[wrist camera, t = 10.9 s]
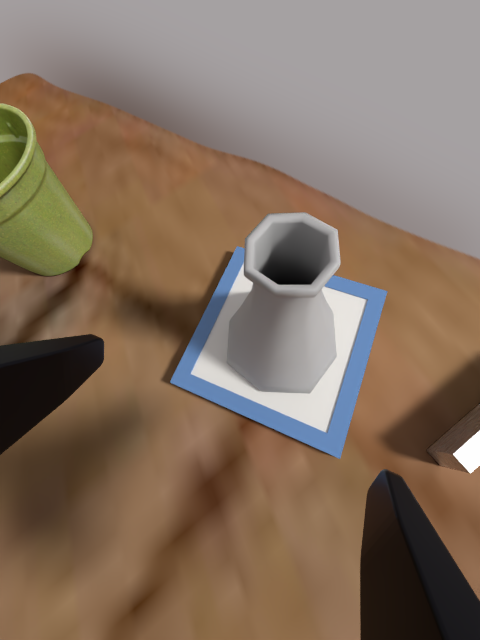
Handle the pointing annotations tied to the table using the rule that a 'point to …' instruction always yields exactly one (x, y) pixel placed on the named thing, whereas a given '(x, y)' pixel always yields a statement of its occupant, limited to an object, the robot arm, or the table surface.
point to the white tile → (274, 407)
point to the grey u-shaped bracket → (460, 444)
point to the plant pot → (35, 204)
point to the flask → (286, 305)
